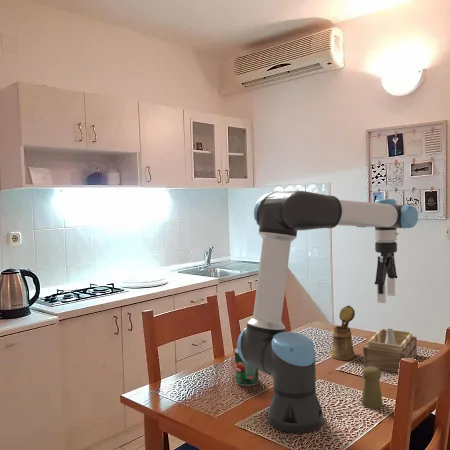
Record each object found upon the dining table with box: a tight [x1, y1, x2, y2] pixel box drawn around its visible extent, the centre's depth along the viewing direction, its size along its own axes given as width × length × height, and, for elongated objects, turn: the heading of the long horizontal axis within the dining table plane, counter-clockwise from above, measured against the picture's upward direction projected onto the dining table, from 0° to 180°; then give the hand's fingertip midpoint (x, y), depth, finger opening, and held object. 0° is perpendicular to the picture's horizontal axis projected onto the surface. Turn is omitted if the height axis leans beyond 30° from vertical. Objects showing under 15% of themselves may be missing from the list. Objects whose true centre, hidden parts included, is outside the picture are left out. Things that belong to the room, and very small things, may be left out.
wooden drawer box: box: [362, 335, 418, 373], centre depth 172 cm, size 21×14×7 cm, turn 147°
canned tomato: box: [234, 347, 260, 387], centre depth 158 cm, size 8×8×11 cm
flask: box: [385, 327, 397, 345], centre depth 172 cm, size 7×7×10 cm
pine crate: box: [367, 328, 413, 352], centre depth 172 cm, size 18×12×8 cm, turn 147°
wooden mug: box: [330, 305, 356, 361], centre depth 180 cm, size 9×14×18 cm, turn 147°
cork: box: [361, 367, 384, 410], centre depth 137 cm, size 6×6×11 cm
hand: (386, 299), depth 170 cm, fingers open, 13 cm apart
